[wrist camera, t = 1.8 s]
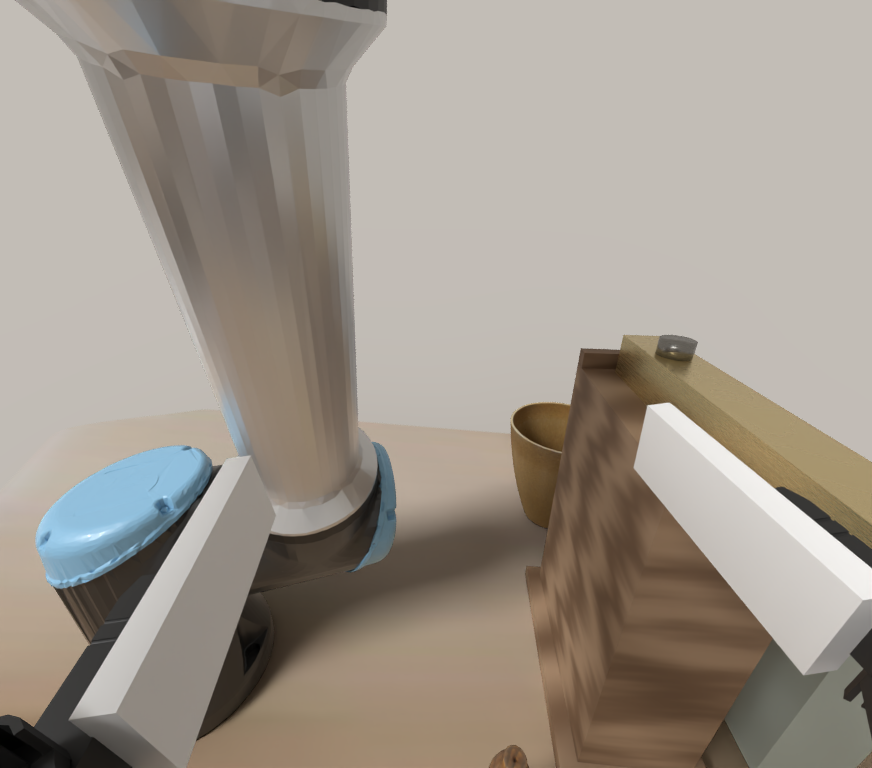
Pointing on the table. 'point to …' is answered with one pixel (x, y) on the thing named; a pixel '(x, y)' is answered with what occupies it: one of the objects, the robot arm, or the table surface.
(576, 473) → the walnut stand
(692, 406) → the brass bar
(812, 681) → the grey block
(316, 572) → the robot arm
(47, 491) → the table surface
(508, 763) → the hand bell
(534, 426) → the plant pot
